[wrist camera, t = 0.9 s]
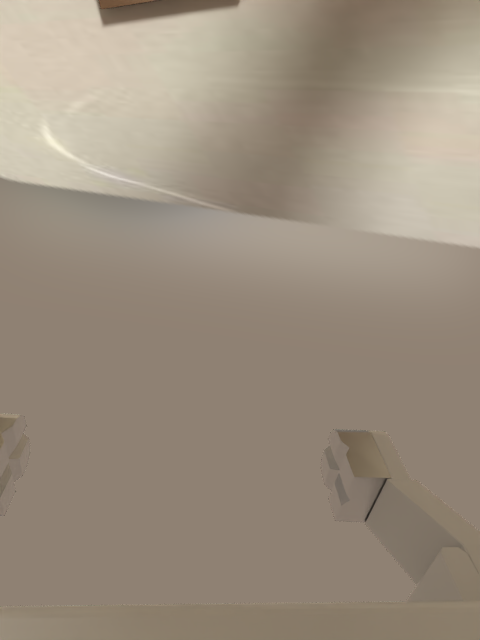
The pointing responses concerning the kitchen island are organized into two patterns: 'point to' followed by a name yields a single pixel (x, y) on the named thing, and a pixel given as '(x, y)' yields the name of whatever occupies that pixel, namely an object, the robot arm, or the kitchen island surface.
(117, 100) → the kitchen island surface
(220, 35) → the kitchen island surface
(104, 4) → the socket board
